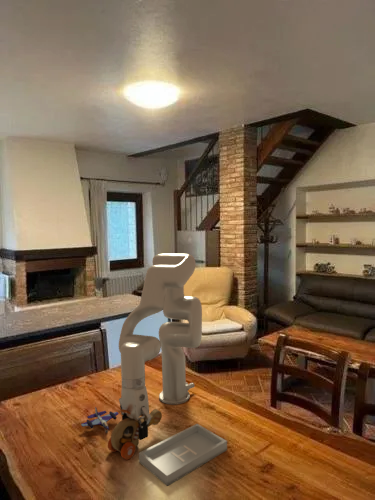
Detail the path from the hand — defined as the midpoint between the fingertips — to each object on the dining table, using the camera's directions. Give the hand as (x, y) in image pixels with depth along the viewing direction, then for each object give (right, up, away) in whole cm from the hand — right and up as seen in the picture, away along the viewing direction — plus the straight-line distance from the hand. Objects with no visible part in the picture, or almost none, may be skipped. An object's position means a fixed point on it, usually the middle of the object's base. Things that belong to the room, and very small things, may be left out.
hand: (134, 431), depth 123 cm
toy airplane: (-13, -4, +11) cm, 18 cm away
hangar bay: (+16, -5, -6) cm, 18 cm away
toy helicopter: (0, -5, +1) cm, 5 cm away
